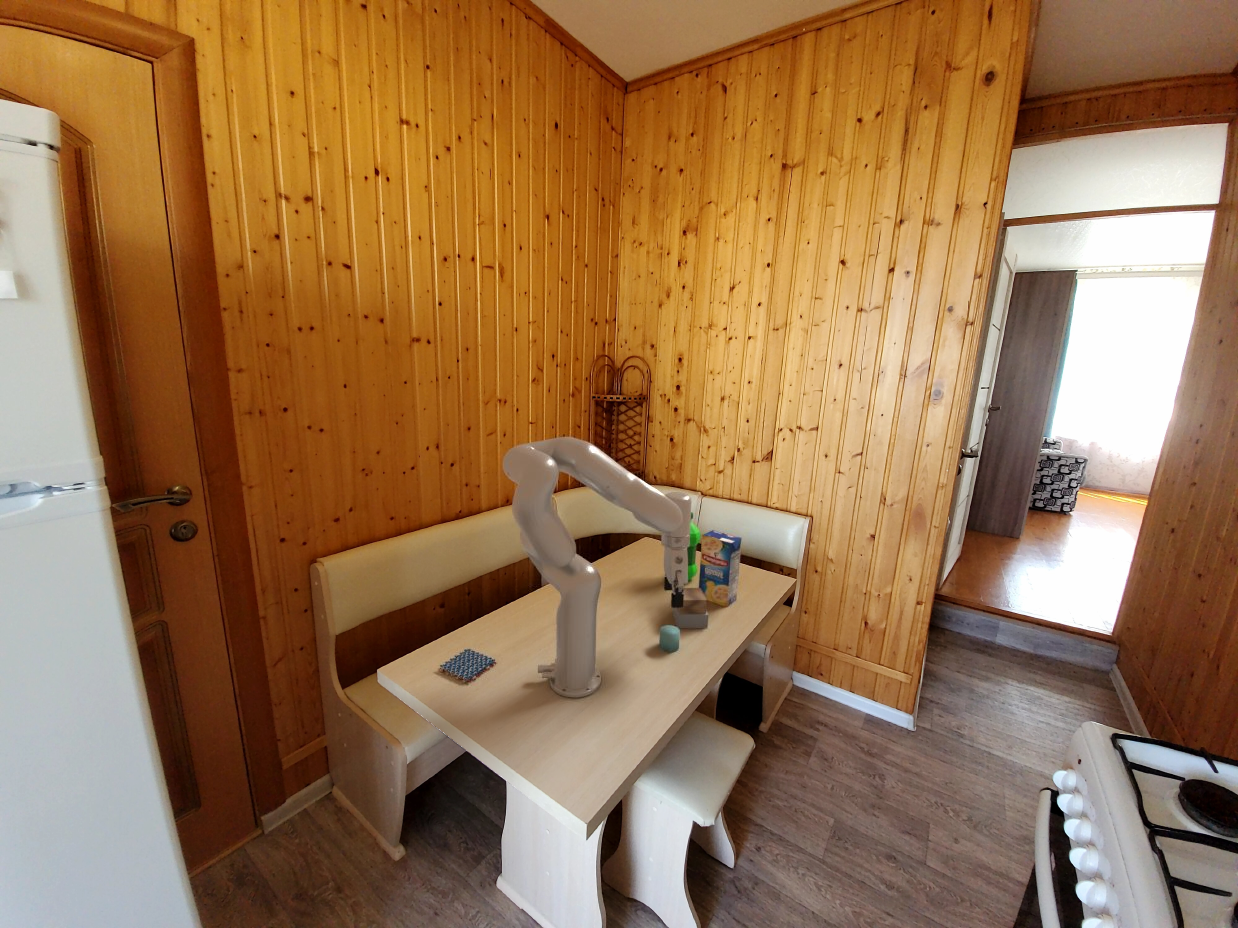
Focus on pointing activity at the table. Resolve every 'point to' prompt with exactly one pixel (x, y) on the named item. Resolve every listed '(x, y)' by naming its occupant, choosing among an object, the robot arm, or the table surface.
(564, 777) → the table surface
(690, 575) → the green soda bottle
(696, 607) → the tower top
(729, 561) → the beverage box
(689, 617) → the tower base
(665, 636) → the blue egg-shaped pebble
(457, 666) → the woven mat
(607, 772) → the table surface
